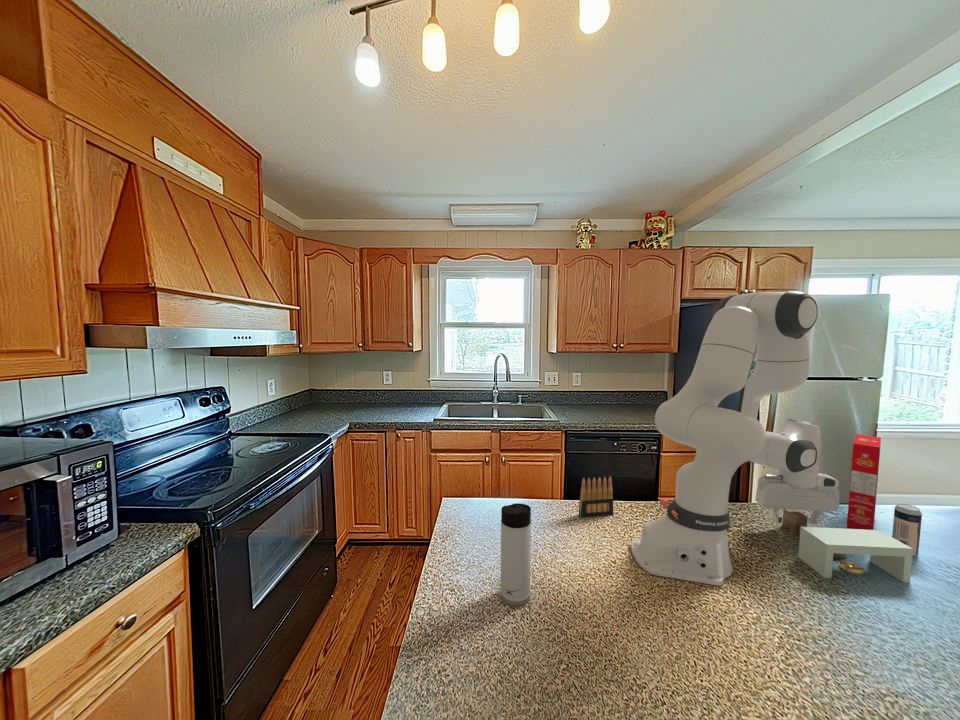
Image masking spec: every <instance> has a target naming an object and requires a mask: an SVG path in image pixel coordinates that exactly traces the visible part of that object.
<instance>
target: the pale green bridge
mask: <svg viewBox="0 0 960 720" xmlns="http://www.w3.org/2000/svg"><path fill="white" fill-rule="evenodd" d="M833 553H839V554H847V555H862V556H863V555H864V556H869V562H871V563H872V564H874V565H875V566H877V567H879V568H880V569H882V570H883V571H885V572H886V573H888V574H889V575H891V576H893V577H894V578H895V579H897V580H898V581H901V582H902V583H908V584H909V583H911V575H912V565H913V557H914V556H913V548H911V547H909V546H907V545H905V544H904V543H902V542H900V541H898V540H896V539H894V538H892V536H890V535H888V534H887V533H885V532H882V531H881V530H879V529H873V530H863V529H849V528H842V527H841V528H837V527H819V526H817V527H815V526H807V527H801V528H800V535H799V545H798V558H799V559H800V560H801V561H802V562H804V563H805V564H806V565H808V566H809V567H810V568H812V569H813V571H815V572H817V573H818V574H819V575H820V576H821V577H823V578H824V579H825V578H826V579H832V576H833V575H832V574H833V564H834V557H833Z"/></svg>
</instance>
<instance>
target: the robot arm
mask: <svg viewBox="0 0 960 720" xmlns="http://www.w3.org/2000/svg"><path fill="white" fill-rule="evenodd" d="M818 311H819V310H818V304H817V302H816V300H815V299H814V298H813V296H811V295H810V294H809V293H808V292H804V291H795V290H794V291H793V290H788V291H786V292H785V291H765V292H764V291H758V292H749V293H748V292H747V293H743V294H733V295H729V296H726V297H723V298H721V299H720V300H719V301H718V302H717V303H716V305H715V307H714V308H713V311H712V318H711V321H710V322H709V324H708V326H707V328H706V331H705V333H704V336H703V340H702V342H701V345H700V349H699V352H698V355H697V358H696V362H695V364H694V367H693V370H692V372H691V374H690V376H689V378H688V379H687V382H686V383H685V384H684V385H683V387H682V388H681V389H680V390H679V391H678V392H677V393H676V394H675V395H674V396H672V397H671V398H669V399H668V400H666V401H664V402H662V403H661V404H660V405H659V406H658V408H657V409H656V412H655V414H654V425H655V428H656V429H657V431H658V432H659V433H660V434H662V436H664V437H667V438H668V439H670V440H672V441H673V442H675V443H678V444H681V445H684V446H687V447H690V448H693V449H695V457H694V460H693V461H692V462H688V463H685V464H684V465H681V467H679V469H678V470H677V471H676V476H675V478H676V480H675V498H674V499H673V500H672V502H671V503H670V501H669V500H668V499H667V498H665V497H664V498H661V499H660V501H659V504H660V506H662V507H663V509H664V510H665V509H667V510H666V513H664V514H663V515H662V516H660V517H658V518H656V519H654V520H652V521H651V522H649V523H646V524H645V525H644V526H643V529H642V532H641V534H640V538H634V539H633V540H631V544H630V551H631V554H632V556H633V558H634V559H635V562H636V563H637V564H638V565H639V566H640V567H641V568H642V569H643V570H644V571H646V572H647V573H649V574H650V575H653V576H658V577H665V578H670V579H677V580H683V581H687V582H694V583H699V584H705V585H706V584H707V585H713V586H717V587H719V586H723V585H724V582H725V581H724V580H725V579H726V578H729V577H730V576H731V575H732V574H733V571H734V568H733V564H732V562H731V558H730V557H731V556H730V551H729V542H728V532H729V530H730V510H729V508H728V507H729V506H728V505H729V496H730V487H731V482H732V480H733V479H732V477H733V476H734V474H735V472H736V471H737V470H738V469H739V467H740V466H741V465H743V464H745V463H746V462H747V463H753V464H759V465H761V466H764V467H767V468H772V469H777V474H764V475H762V476H760V477H759V478H758V479H757V480H758V481H757V488H756V493H755V502H756V503H757V504H758V505H759V506H761V507H763V508H765V509H769V511H770V513H771V514H772V522H774V523H775V524H783V516H780V515H779V511H780V509H782V510H783V509H796V510H806V511H812V513H811V515H807V517H808V520H807V524H810V525H816V526H817V525H818V521H819V519H820V518H821V517H822V515H823V514H824V512H825V511H827V512H828V511H831V512H835V511H836V510H838V508H839V507H840V491H839V489H838V487H839V486H840V482H839V480H838V479H836V478H835V477H832V476H830V475H829V474H825V473H824V472H820V466H819V458H820V456H821V450H822V443H821V442H822V439H821V438H822V437H821V431H820V427H819V425H818V424H816V423H814V422H811V421H804V420H799V419H792V418H787V419H785V420H784V421H783V424H782V429H781V431H780V433H778V432H772V431H767V430H765V428H764V427H763V424H762V423H761V422H760V421H759V420H758V419H757V418H758V414H759V408H760V403H761V401H762V400H763V398H764V397H767V396H770V395H774V394H775V395H776V394H779V393H781V394H782V393H786V392H790V391H793V390H795V389H797V388H799V387H800V386H802V385H803V384H804V383H805V381H807V379H808V377H809V376H810V375H809V374H810V367H811V366H810V365H811V363H810V362H811V355H810V354H811V352H810V342H809V336H808V332H809V331H811V330H812V328H813V327H814V326H815V323H816V322H817V318H818V315H819V312H818ZM755 354H756V358H755V359H756V361H755V366H754V369H753V371H752V372H751V374H750V371H751V367H752V364H753V360H754V357H755ZM739 391H740V392H739ZM737 392H739V396H738V402H737V407H736V410H735V409H730V408H729V409H728V408H723V407H720V406H719V405H720V403H721V402H722V401H723V400H724V399H725V398H726V397H727V396H729V395H732V394H734V393H737ZM718 406H719V407H718Z"/></svg>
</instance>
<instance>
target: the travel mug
mask: <svg viewBox="0 0 960 720" xmlns="http://www.w3.org/2000/svg"><path fill="white" fill-rule="evenodd" d="M500 510H501V518H500V519H501V521H500V598H501V600H502V601H503V603H505V604H506V605H509V606H512V607H519V606H520V607H521V606H524V605H525V604H528V602H529V601H530V598H531V553H532V552H531V545H532V543H531V542H532V538H531V537H532V536H531V535H532V521H531V519H532V513H531V512H532V508H531V507H530V505H527V504H525V503H517V502H515V503H512V504H509V505H504V506H502V507H501V509H500Z"/></svg>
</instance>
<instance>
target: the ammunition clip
mask: <svg viewBox="0 0 960 720" xmlns="http://www.w3.org/2000/svg"><path fill="white" fill-rule="evenodd" d="M612 481H613V479H612V476H610V475H609V477H608V481H607V478H606V476H604V477H603V479H602V478H601V477H600V476H598V478H597V480H596V478H595V476H594V477H593V478H592V480H591V479H590V477H587V481H586V480H585V477H583V478H582V481H581V486H580V487H581V488H580V494H579V495H580V497H579V505H578V515H579V516H580V517H581V518H590V517H602V516H603V517H604V516H613V515H614V498H613V491H614V490H613V482H612Z"/></svg>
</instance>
